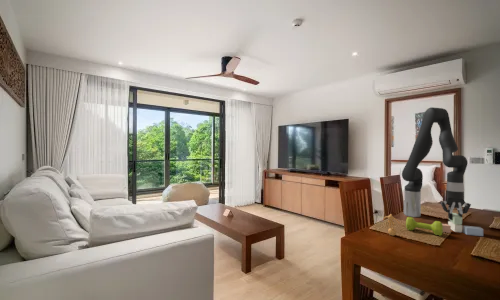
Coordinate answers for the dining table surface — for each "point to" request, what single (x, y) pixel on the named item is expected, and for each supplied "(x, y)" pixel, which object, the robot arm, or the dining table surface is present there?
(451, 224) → the cream brick
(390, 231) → the figurine
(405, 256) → the dining table surface
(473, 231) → the slate brick
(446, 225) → the terracotta brick
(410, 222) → the dumbbell
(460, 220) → the sage brick
